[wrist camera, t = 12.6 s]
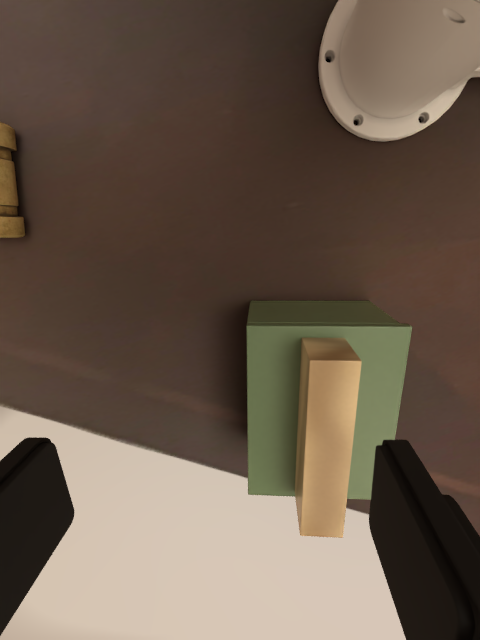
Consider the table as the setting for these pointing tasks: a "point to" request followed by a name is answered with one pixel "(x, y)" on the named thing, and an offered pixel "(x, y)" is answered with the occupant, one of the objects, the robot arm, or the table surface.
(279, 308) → the box
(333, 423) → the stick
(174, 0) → the table surface
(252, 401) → the box lid
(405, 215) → the table surface
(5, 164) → the gavel
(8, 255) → the table surface
